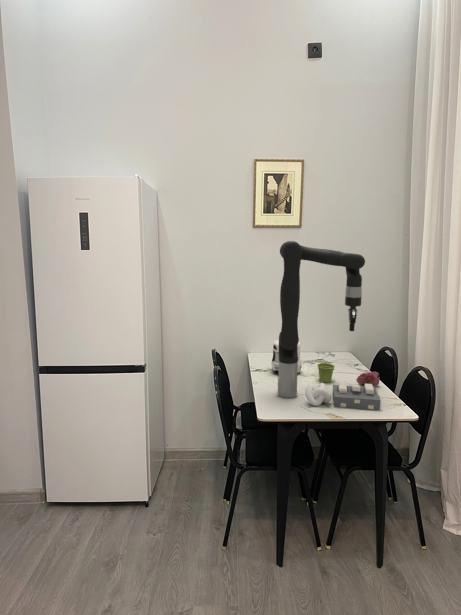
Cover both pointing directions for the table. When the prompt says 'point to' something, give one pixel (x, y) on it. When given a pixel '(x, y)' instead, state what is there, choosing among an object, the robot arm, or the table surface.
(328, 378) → the plant pot
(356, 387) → the rocker
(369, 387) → the rocker
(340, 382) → the rocker
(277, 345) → the milk container
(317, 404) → the white knot sculpture
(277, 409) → the table surface
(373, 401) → the switch unit
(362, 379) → the flower
